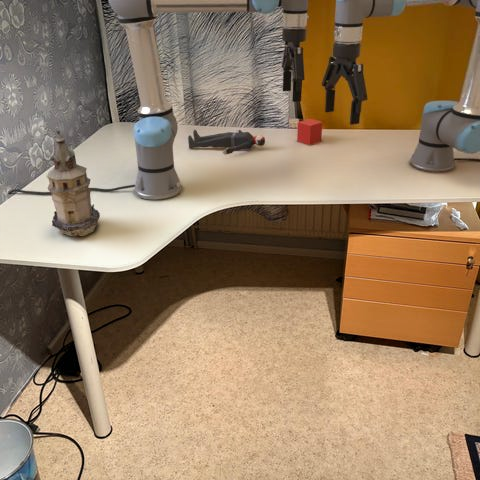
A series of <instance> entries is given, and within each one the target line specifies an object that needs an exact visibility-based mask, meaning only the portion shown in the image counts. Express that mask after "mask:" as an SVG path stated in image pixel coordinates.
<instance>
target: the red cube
mask: <svg viewBox="0 0 480 480" xmlns="http://www.w3.org/2000/svg"><path fill="white" fill-rule="evenodd" d="M296 133H297V135H296V141H297V142H298V143H301V144H303V145H308V146H311V145H314V144H317V143H321V142H322V136H323V121H320V120H317V119H313V118H306V119H304V120H300V121H298V122H297V131H296Z"/></svg>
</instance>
